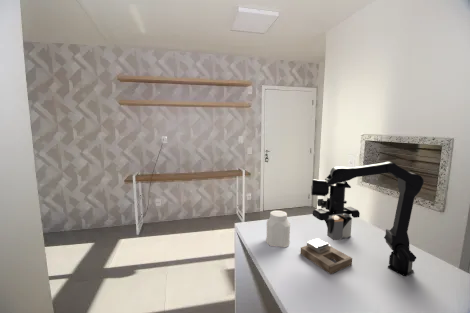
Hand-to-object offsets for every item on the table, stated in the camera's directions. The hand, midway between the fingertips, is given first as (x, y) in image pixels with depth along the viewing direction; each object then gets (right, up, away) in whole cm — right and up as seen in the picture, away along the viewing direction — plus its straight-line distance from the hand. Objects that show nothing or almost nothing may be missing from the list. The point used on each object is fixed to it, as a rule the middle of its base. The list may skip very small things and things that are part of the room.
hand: (334, 232), depth 92 cm
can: (+15, -10, +24) cm, 30 cm away
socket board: (-3, -12, +2) cm, 13 cm away
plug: (0, -2, 0) cm, 2 cm away
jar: (-21, -11, +16) cm, 29 cm away
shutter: (-5, -9, +5) cm, 11 cm away
